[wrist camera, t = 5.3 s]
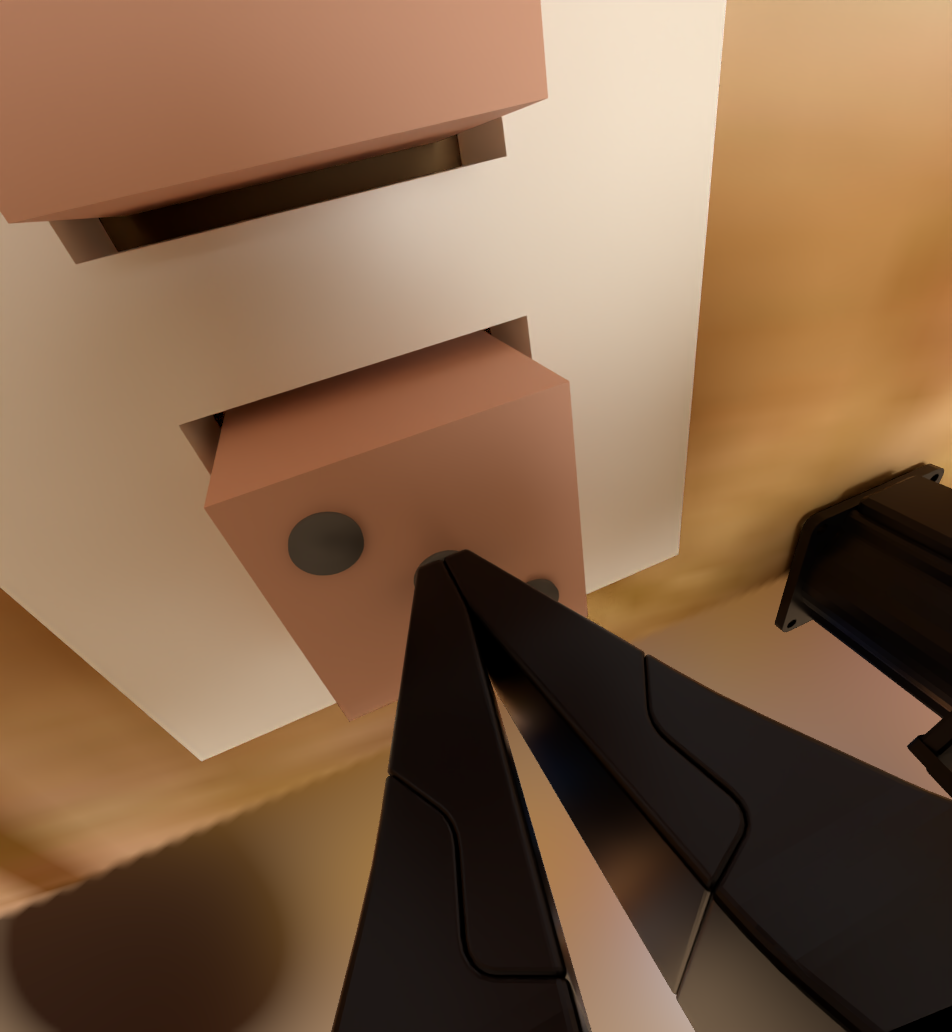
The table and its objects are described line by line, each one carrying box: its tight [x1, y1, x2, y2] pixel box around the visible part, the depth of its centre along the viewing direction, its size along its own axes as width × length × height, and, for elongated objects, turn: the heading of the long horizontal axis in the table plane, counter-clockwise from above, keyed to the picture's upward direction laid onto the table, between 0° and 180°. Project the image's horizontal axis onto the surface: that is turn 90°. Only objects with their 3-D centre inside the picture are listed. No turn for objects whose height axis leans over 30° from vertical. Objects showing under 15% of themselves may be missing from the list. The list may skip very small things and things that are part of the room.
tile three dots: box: [204, 330, 588, 722], centre depth 9 cm, size 5×5×4 cm
